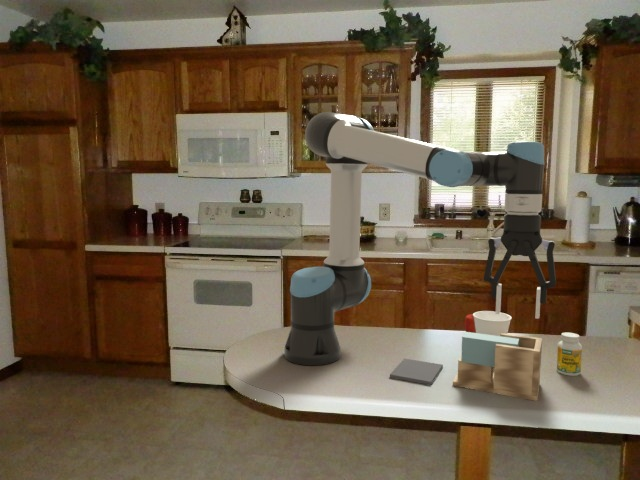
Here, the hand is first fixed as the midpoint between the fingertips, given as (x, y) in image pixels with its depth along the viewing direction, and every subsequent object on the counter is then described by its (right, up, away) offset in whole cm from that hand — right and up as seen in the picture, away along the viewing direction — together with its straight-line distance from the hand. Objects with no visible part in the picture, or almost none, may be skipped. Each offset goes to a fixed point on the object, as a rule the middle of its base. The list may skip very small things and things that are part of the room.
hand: (517, 314), depth 112 cm
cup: (+2, -15, +23) cm, 28 cm away
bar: (-5, -12, +4) cm, 13 cm away
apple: (+2, -13, +37) cm, 39 cm away
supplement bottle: (+17, -16, +11) cm, 26 cm away
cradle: (-3, -17, +4) cm, 18 cm away
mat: (-20, -16, +11) cm, 28 cm away
